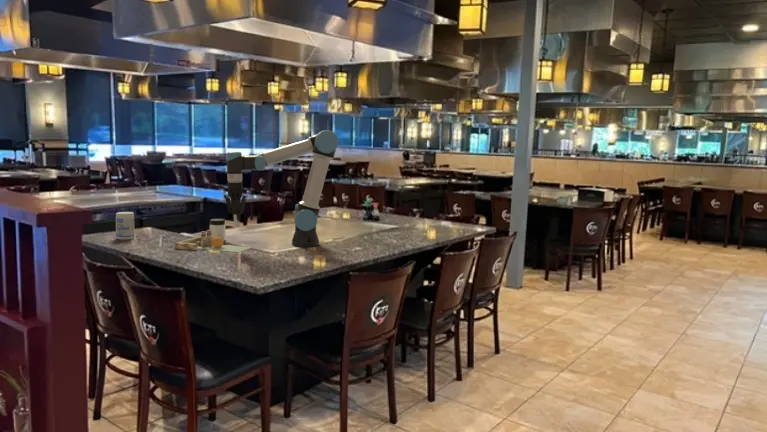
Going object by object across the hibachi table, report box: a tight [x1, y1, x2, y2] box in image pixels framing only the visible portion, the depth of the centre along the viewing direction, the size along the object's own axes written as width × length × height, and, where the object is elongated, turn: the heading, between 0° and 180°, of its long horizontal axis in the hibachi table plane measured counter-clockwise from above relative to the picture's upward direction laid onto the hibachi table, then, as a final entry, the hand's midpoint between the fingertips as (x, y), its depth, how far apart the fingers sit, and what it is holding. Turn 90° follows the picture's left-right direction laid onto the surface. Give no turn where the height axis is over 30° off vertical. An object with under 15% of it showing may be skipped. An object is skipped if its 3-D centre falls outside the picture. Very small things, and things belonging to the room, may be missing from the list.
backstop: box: [174, 235, 214, 251], centre depth 307 cm, size 12×22×3 cm, turn 164°
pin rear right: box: [206, 229, 211, 242], centre depth 308 cm, size 2×2×8 cm
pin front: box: [196, 241, 213, 247], centre depth 306 cm, size 2×2×8 cm
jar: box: [209, 218, 226, 242], centre depth 324 cm, size 9×8×12 cm
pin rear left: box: [200, 230, 207, 247], centre depth 303 cm, size 2×2×8 cm
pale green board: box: [197, 244, 253, 253], centre depth 304 cm, size 32×14×1 cm, turn 74°
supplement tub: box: [115, 211, 135, 241], centre depth 321 cm, size 10×10×15 cm
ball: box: [212, 237, 225, 248], centre depth 303 cm, size 6×6×6 cm
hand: (236, 226), depth 300 cm, fingers closed
